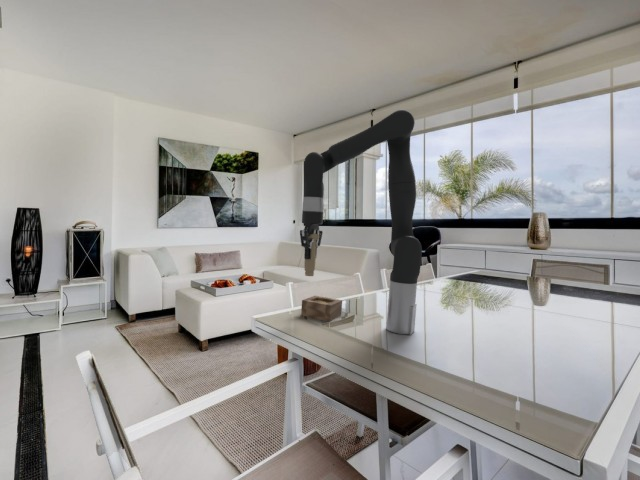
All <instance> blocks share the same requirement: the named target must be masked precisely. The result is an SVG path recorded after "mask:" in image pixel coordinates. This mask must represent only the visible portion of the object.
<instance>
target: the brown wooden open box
mask: <svg viewBox="0 0 640 480" xmlns="http://www.w3.org/2000/svg"><path fill="white" fill-rule="evenodd" d="M316 300H321V301H326V302H331V303H322V302H317V301H316ZM342 311H343V299H336V298H332V297H326V296H325V297H324V296H320V295H313V296H310V297H308V298H304V299H301V313H300V316H301V315H303V316H302V317H304V316H307V317H306V318H309V317H310V318H311V319H314V320H319V321H325V322H332V321H333V320H336V319H337V318H340V317H341V316H342Z"/></svg>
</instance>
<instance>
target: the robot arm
mask: <svg viewBox="0 0 640 480" xmlns="http://www.w3.org/2000/svg"><path fill="white" fill-rule="evenodd" d="M415 124H416V123H415V118H414V115H413V114H412V113H411V112H410V111H408V110H407V109H398V110H397V109H396V111H393V112H392V113H390V114H389V115H387V116H386V117H385V118H383V119H381V120H380V121H378V122H377V123H376V124H374V125H371V126H370V127H369V128H366V129H364V130H363V131H360V132H358V133H357V134H354V135H351V136H350V137H347V138H345V139H343V140H341V141H338V142H336V143H334V144H332V145H331V146H329V148H328V149H326V150H325V151H324V152H321V153H319V152H317V151H315V152H314V151H312V152H310V153H308V154H307V155H306V156H305V158H304V161H303V179H304V187H303V188H304V189H303V200H302V208H301V209H302V210H301V211H302V212H301V223H302V224H304V229H300V230H299V235H300V237H299V238H300V244H301V245H300V246H301V248H303V249H304V260H305V259H311V246H312V243H313V242H314V239H313V238H311V239H308V236H310V235H311V234H319V238H318V239H317V240H316V255H317V251H318V249H317V248H319V247H321V244H322V243H321V242H322V237H323V230H320V225H323V223H324V206H325V205H324V204H325V203H324V193H325V186H324V174H325V173H327V172H329V171H330V170H332V169H333V168H335V167H337V166H339V165H340V164H343V163H347V162H348V161H350V160H353V159H355V158H357V157H359V156H360V155H362V154H363V153H365V152H367V151H368V150H369V149H372V148H373V147H375V146H377V145H378V144H381V143H384V142H386V143H387V149H388V172H387V173H388V175H387V177H388V178H387V179H388V183H387V184H388V186H387V187H388V199H389V201H388V202H389V210H390V217H391V218H390V219H391V233H390V234H391V235H390V237H391V239H390V252H391V255H392V256H393V262H392V270H391V272H390V275H389V276H390V278H389V285H388V287H389V288H388V300H387V302H388V303H387V311H386V312H387V313H386V314H387V315H386V325H385V329H386V330H387V331H389V332H391V333H393V334H394V333H395V334H399V335H411V336H412V335H413V333H414V332H415V328H416V315H417V303H416V302H417V301H416V299H417V289H418V288H417V286H418V279H419V276H420V274H421V266H422V265H421V264H422V256H423V255H422V253H423V248H422V243H421V242H420V241H419V239H418V238H416V237H415V235H414V231H413V230H414V229H413V219H414V218H413V216H414V212H415V208H416V203H417V202H416V201H417V185H416V176H415V171H414V166H413V163H412V162H413V161H412V159H411V136H412V132H413V130H414V127H415Z"/></svg>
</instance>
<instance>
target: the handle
mask: <svg viewBox="0 0 640 480" xmlns="http://www.w3.org/2000/svg"><path fill="white" fill-rule="evenodd" d="M311 238H313V239H314V242H313V243H312V246H311V259H305V258H304V262H303V263H304V265H303V266H304V276H306V277H314V275H315V270H316V269H315V268H316V259H317V254H316V240H317V239H318V238H319V234H311V235H310V236H308V239H311Z"/></svg>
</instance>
